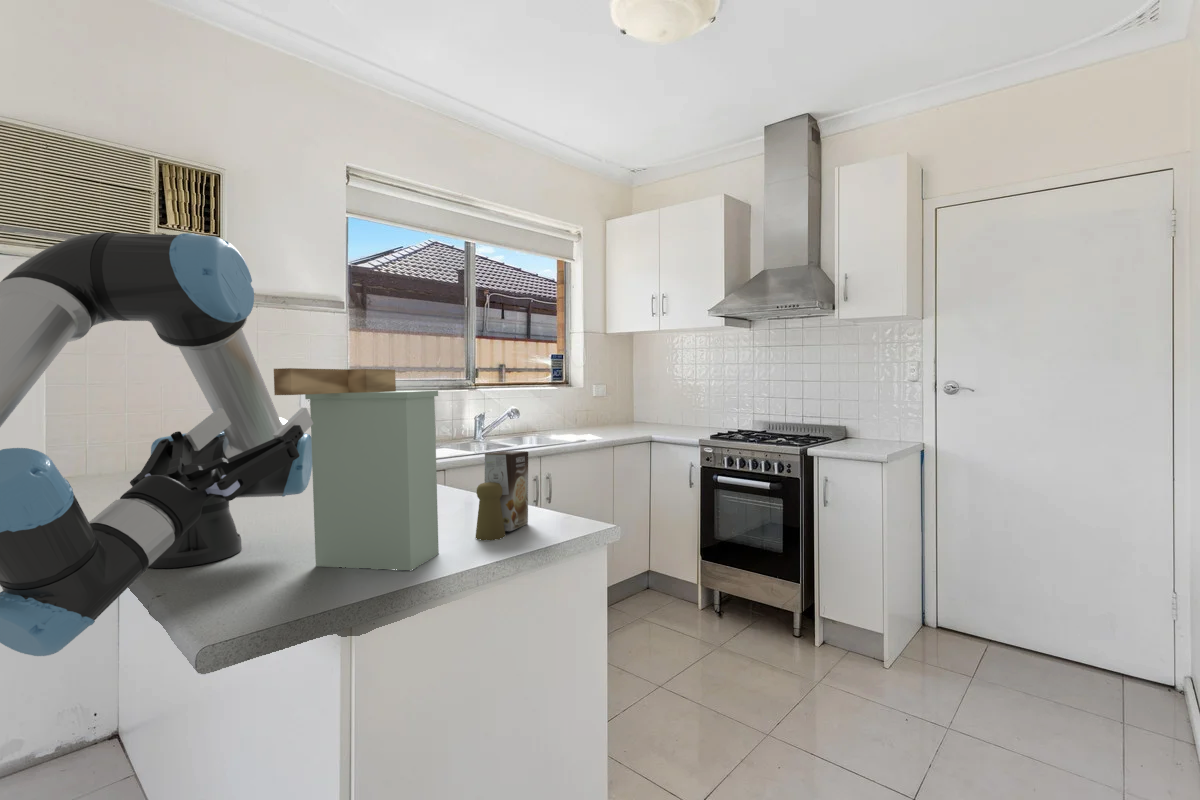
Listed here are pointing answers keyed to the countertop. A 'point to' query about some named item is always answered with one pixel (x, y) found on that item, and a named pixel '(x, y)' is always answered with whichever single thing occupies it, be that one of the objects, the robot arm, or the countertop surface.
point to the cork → (489, 512)
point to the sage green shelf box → (374, 479)
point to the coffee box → (510, 485)
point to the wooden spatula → (332, 381)
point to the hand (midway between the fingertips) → (265, 415)
